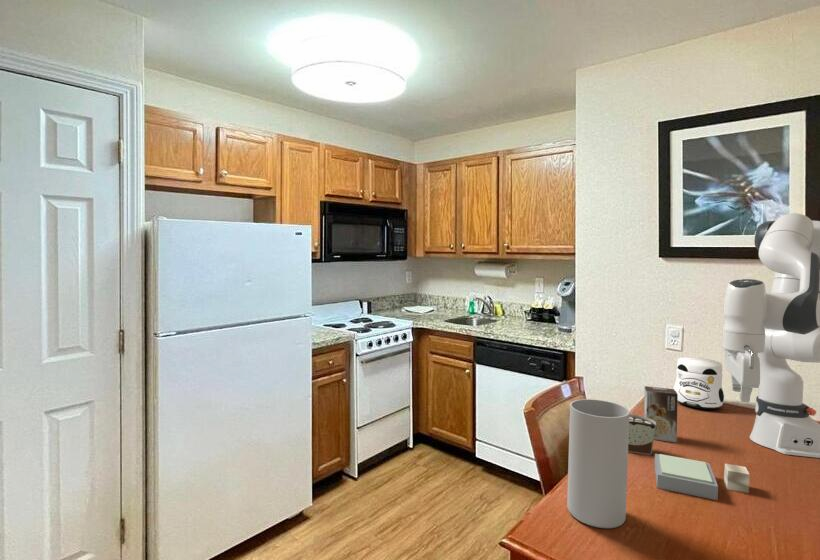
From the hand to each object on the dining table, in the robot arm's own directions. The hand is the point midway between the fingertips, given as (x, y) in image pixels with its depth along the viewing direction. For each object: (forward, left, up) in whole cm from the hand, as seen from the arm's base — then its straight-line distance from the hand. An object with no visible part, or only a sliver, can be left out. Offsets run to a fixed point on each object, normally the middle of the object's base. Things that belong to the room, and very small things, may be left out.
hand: (740, 396), depth 115 cm
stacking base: (+12, +3, -24) cm, 27 cm away
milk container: (0, -73, -24) cm, 77 cm away
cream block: (0, 0, -24) cm, 24 cm away
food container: (+24, -14, -24) cm, 37 cm away
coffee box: (+16, -28, -24) cm, 40 cm away
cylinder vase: (+32, +30, -24) cm, 50 cm away
